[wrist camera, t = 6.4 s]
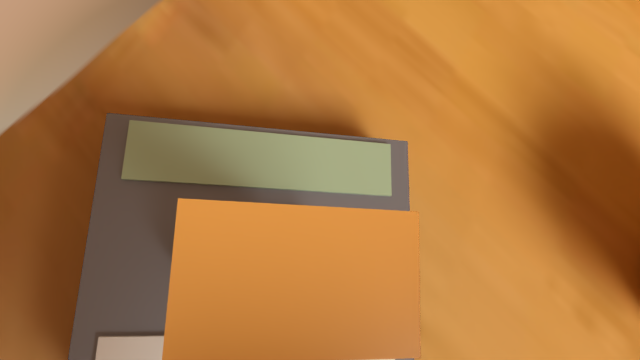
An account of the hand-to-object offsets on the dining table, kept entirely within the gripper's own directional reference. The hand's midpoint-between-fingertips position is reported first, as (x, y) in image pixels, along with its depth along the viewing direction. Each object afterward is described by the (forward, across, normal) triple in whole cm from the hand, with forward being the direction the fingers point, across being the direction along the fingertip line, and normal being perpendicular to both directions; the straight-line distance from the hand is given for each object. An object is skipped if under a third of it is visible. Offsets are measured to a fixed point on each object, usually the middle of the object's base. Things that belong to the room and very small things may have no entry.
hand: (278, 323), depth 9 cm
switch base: (+9, 0, -7) cm, 11 cm away
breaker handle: (+6, 0, -4) cm, 8 cm away
